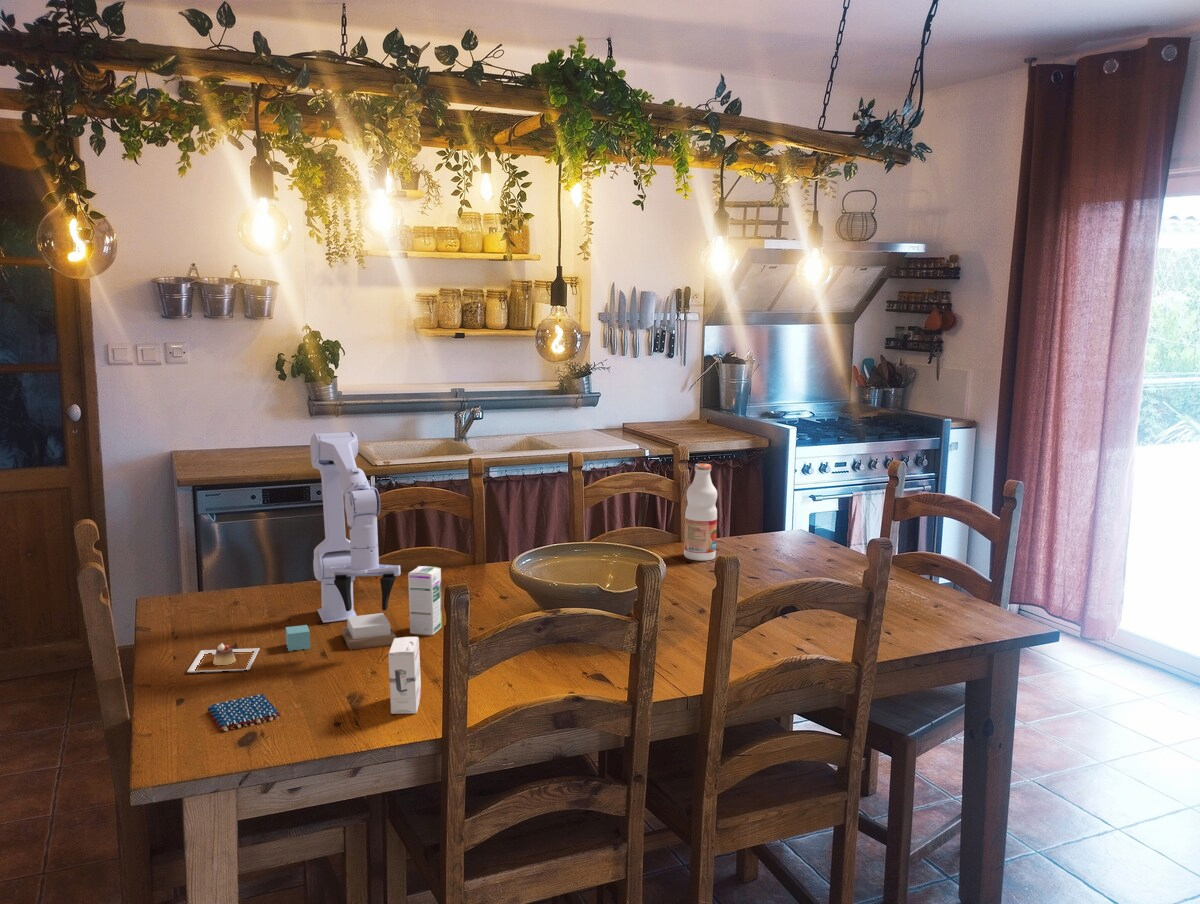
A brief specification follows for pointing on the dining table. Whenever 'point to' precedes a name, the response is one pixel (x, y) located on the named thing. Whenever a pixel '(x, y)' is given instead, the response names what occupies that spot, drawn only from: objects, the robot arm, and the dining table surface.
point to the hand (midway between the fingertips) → (366, 609)
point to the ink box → (404, 675)
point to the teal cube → (297, 637)
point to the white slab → (368, 626)
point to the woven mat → (242, 712)
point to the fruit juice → (701, 516)
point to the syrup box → (425, 600)
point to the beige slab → (367, 640)
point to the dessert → (222, 658)
